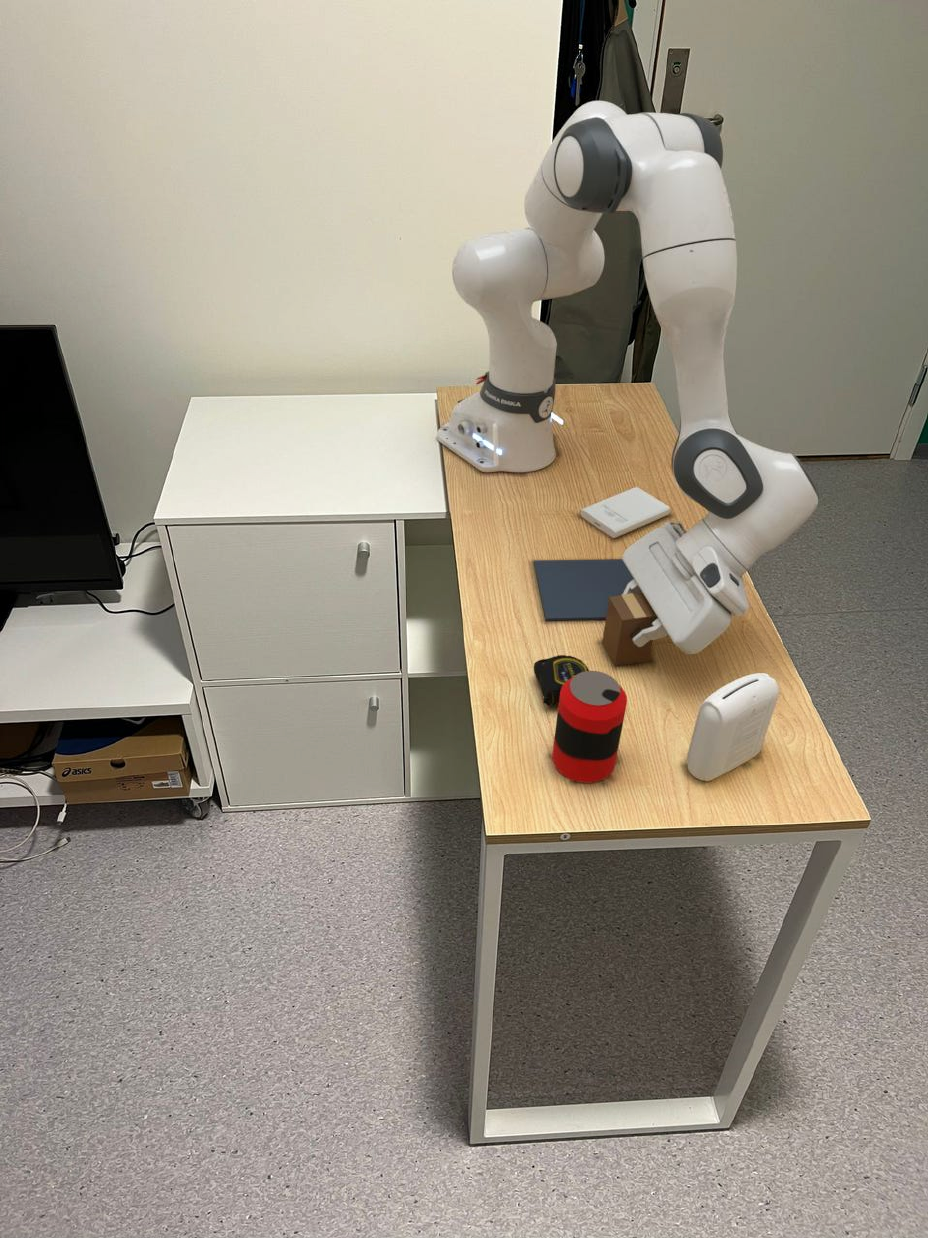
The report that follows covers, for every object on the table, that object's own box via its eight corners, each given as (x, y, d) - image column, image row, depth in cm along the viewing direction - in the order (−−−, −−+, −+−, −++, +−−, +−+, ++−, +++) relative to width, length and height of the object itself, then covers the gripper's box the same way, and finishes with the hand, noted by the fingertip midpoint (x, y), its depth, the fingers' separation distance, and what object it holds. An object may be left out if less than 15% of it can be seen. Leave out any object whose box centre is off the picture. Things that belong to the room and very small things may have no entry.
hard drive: (669, 515, 158) (614, 539, 152) (634, 493, 163) (579, 516, 157) (670, 507, 157) (615, 531, 151) (635, 485, 162) (580, 507, 156)
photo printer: (739, 732, 120) (761, 657, 112) (765, 753, 117) (789, 679, 109) (678, 765, 115) (697, 689, 108) (704, 788, 113) (725, 712, 105)
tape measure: (531, 675, 127) (533, 654, 125) (581, 672, 128) (584, 650, 125) (541, 712, 122) (544, 690, 119) (594, 708, 123) (597, 686, 120)
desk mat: (545, 621, 136) (546, 618, 136) (533, 563, 147) (533, 560, 146) (684, 618, 137) (685, 615, 137) (662, 561, 148) (662, 558, 148)
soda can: (597, 794, 111) (610, 721, 104) (540, 767, 114) (549, 694, 107) (625, 754, 117) (639, 681, 109) (569, 729, 120) (580, 656, 112)
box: (601, 642, 133) (609, 596, 128) (635, 637, 134) (644, 591, 129) (614, 666, 129) (622, 619, 124) (649, 661, 130) (658, 614, 125)
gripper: (662, 503, 130) (586, 569, 134) (728, 594, 115) (640, 666, 119) (687, 527, 134) (612, 591, 138) (754, 618, 118) (667, 687, 123)
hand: (625, 626), depth 128 cm, fingers closed on box, 5 cm apart
